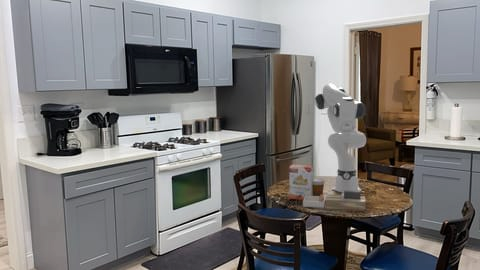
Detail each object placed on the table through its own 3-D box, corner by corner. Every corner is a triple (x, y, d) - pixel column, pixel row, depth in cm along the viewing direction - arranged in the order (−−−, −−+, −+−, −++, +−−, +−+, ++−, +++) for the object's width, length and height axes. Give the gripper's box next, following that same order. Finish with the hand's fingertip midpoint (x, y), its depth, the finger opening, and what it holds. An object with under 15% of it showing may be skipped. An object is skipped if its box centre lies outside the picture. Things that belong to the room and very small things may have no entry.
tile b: (323, 204, 236) (319, 204, 236) (323, 196, 235) (319, 196, 236) (322, 206, 231) (318, 206, 232) (322, 198, 231) (318, 198, 231)
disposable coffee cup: (316, 202, 242) (316, 182, 241) (305, 198, 250) (305, 179, 249) (328, 199, 247) (328, 180, 246) (317, 195, 255) (317, 177, 254)
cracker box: (289, 199, 249) (288, 166, 247) (292, 196, 255) (292, 164, 252) (311, 201, 243) (311, 167, 241) (313, 198, 249) (313, 165, 246)
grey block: (342, 194, 238) (342, 188, 238) (360, 195, 236) (360, 189, 235) (341, 200, 227) (341, 193, 226) (360, 201, 224) (360, 194, 224)
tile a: (324, 201, 241) (320, 201, 241) (324, 194, 240) (320, 194, 241) (323, 203, 236) (319, 203, 237) (323, 196, 236) (320, 196, 236)
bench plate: (326, 202, 241) (326, 194, 241) (364, 204, 235) (364, 196, 235) (325, 208, 230) (325, 199, 229) (365, 210, 224) (365, 202, 223)
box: (305, 200, 245) (305, 195, 244) (325, 202, 242) (325, 196, 241) (303, 206, 233) (303, 200, 233) (324, 208, 230) (324, 202, 230)
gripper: (341, 123, 242) (341, 146, 244) (340, 127, 222) (340, 152, 224) (352, 123, 240) (352, 146, 242) (352, 128, 221) (352, 152, 223)
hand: (346, 149), depth 233 cm, fingers open, 8 cm apart
